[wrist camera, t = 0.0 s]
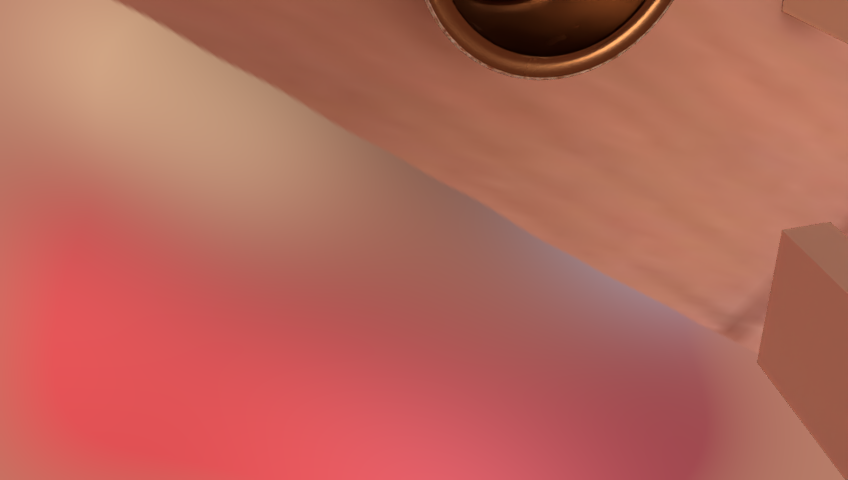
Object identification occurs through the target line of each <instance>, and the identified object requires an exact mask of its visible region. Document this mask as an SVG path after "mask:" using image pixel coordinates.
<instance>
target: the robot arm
mask: <svg viewBox="0 0 848 480" xmlns="http://www.w3.org/2000/svg"><path fill="white" fill-rule="evenodd" d="M757 363H758V365H759V366H760V367H761V368H762V370H763V371H764V372H765V374H766V375H767V376H768V378H769V379H770V380H771V382H772V383H773V384H774V386H775V387H776V388H777V390H778V391H779V392H780V394H781V395H782V396H783V397H784V399H785V400H786V402H787V403H788V404H789V406H790V407H791V408H792V410H793V411H794V412H795V414H796V415H797V416H798V418H799V419H800V420H801V422H802V423H803V424H804V426H805V427H806V428H807V429H808V431H809V432H810V434H811V435H812V436H813V437H814V439H815V440H816V441H817V442H818V444H819V445H820V447H821V448H822V449H823V451H824V452H825V453H826V455H827V456H828V457H829V459H830V460H831V461H832V463H833V464H834V465H835V467H836V468H837V469H838V471H839V472H840V473H841V474H842V476H843V477H844V478H845V480H848V237H847V236H846V235H845V234H843V233H842V232H841V231H840V230H839V229H838V228H837V227H835V226H834V225H833V224H832V223H831V222H827V223H821V224H815V225H809V226H803V227H797V228H791V229H785V230H782V233H781V238H780V243H779V249H778V254H777V259H776V264H775V270H774V275H773V280H772V286H771V291H770V296H769V301H768V307H767V312H766V317H765V322H764V328H763V333H762V338H761V344H760V349H759V354H758V360H757Z"/></svg>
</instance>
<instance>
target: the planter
mask: <svg viewBox="0 0 848 480" xmlns="http://www.w3.org/2000/svg"><path fill="white" fill-rule="evenodd" d="M424 1H425V3H426V5H427V7H428V9H429V11H430V13H431V14H432V16H433V18H434V20H435V21H436V23H437V24H438V26H439V27H440V29H441V30H442V31H443V33H444V34H445V35H446V36H447V37H448V39H449V40H450V41H451V42H452V43H453V44H454V45H455V46H456V47H457V48H458V49H459V50H461V51H462V52H463V53H464V54H465V55H467V56H468V57H469V58H471V59H472V60H474V61H475V62H477V63H479V64H480V65H482V66H484V67H486V68H488V69H490V70H492V71H495V72H498V73H500V74H503V75H507V76H510V77H515V78H520V79H528V80H553V79H561V78H566V77H571V76H575V75H579V74H582V73H585V72H588V71H591V70H593V69H595V68H598V67H600V66H602V65H604V64H606V63H608V62H610V61H612V60H613V59H615V58H617V57H618V56H620V55H621V54H623V53H624V52H626V51H627V50H629V49H630V48H631V47H632V46H634V45H635V44H636V43H637V42H638V41H640V40H641V39H642V38H643V37H644V36H645V35H646V34H647V33H648V32H649V31H650V30H651V29H652V28H653V27H654V26H655V25H656V23H657V22H658V21H659V20H660V19H661V18H662V16H663V15H664V14H665V12H666V11H667V10H668V8H669V7H670V5H671V4H672V2H673V1H674V0H424Z"/></svg>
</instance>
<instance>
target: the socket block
mask: <svg viewBox="0 0 848 480" xmlns="http://www.w3.org/2000/svg"><path fill="white" fill-rule="evenodd" d="M782 11H783V12H785V13H787V14H789V15H791V16H793V17H795V18H797V19H799V20H801V21H803V22H805V23H807V24H809V25H811V26H813V27H815V28H817V29H819V30H821V31H823V32H825V33H827V34H829V35H831V36H833V37H835V38H837V39H839V40H841V41H843V42H845V43H847V44H848V0H784V1H783V7H782Z"/></svg>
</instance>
